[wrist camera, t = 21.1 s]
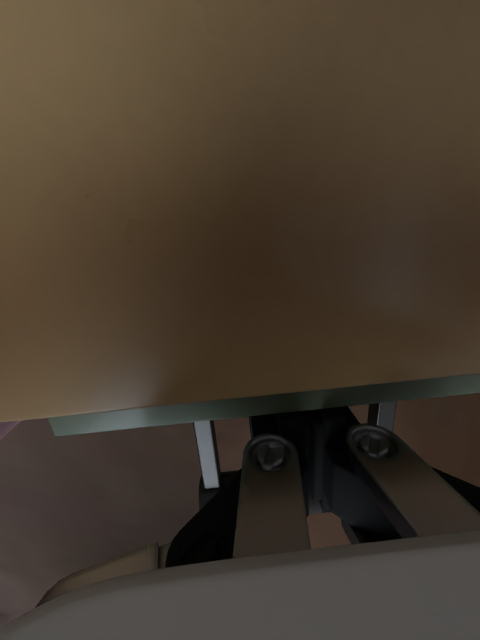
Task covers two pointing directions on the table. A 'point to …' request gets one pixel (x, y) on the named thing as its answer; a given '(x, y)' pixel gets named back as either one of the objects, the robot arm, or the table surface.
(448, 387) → the drawer
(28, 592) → the table surface
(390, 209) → the wood-grain box
